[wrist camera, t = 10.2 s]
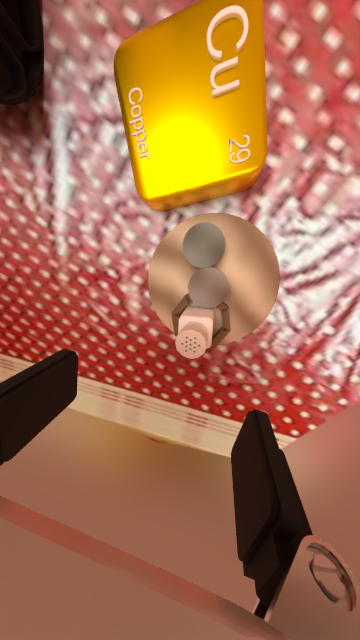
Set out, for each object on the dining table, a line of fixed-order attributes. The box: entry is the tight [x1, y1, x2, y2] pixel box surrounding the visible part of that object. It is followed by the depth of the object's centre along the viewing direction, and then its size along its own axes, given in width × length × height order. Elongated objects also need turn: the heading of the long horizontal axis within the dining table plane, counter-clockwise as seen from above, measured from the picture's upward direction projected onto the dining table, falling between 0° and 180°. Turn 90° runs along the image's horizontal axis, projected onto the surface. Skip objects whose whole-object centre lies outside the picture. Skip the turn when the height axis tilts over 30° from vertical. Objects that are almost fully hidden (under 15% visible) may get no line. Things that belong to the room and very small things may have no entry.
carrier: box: [148, 213, 280, 348], centre depth 25 cm, size 18×18×5 cm
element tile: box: [114, 0, 267, 211], centre depth 21 cm, size 15×15×5 cm
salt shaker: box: [175, 306, 214, 359], centre depth 23 cm, size 4×4×10 cm
